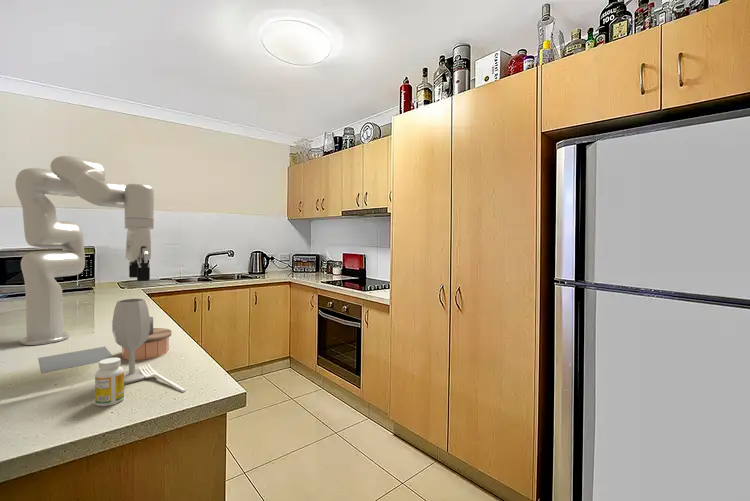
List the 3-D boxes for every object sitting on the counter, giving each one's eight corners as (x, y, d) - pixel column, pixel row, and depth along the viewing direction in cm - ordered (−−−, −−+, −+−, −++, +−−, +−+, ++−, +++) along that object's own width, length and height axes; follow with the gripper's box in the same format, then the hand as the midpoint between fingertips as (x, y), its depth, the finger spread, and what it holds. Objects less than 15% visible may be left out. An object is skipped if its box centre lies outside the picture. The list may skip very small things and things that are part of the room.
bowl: (118, 355, 112) (118, 336, 111) (161, 347, 120) (161, 329, 120) (128, 365, 103) (127, 345, 103) (173, 356, 112) (173, 337, 112)
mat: (38, 361, 106) (38, 357, 105) (105, 349, 117) (105, 346, 117) (42, 376, 94) (41, 373, 94) (115, 362, 106) (115, 358, 106)
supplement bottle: (98, 409, 78) (97, 366, 77) (92, 401, 81) (91, 360, 81) (127, 401, 82) (127, 360, 81) (120, 394, 85) (120, 354, 85)
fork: (177, 395, 86) (177, 388, 86) (136, 373, 96) (137, 366, 96) (190, 391, 88) (190, 383, 88) (149, 369, 99) (149, 363, 99)
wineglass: (158, 375, 97) (158, 299, 96) (124, 387, 89) (124, 304, 88) (138, 369, 101) (137, 296, 100) (104, 380, 93) (103, 301, 92)
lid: (113, 336, 111) (113, 317, 111) (163, 328, 121) (163, 311, 121) (124, 347, 102) (124, 326, 101) (177, 337, 112) (177, 318, 111)
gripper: (118, 223, 114) (118, 276, 114) (131, 223, 102) (131, 283, 102) (145, 224, 119) (145, 275, 120) (161, 225, 107) (161, 281, 108)
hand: (139, 278), depth 111 cm, fingers open, 9 cm apart
